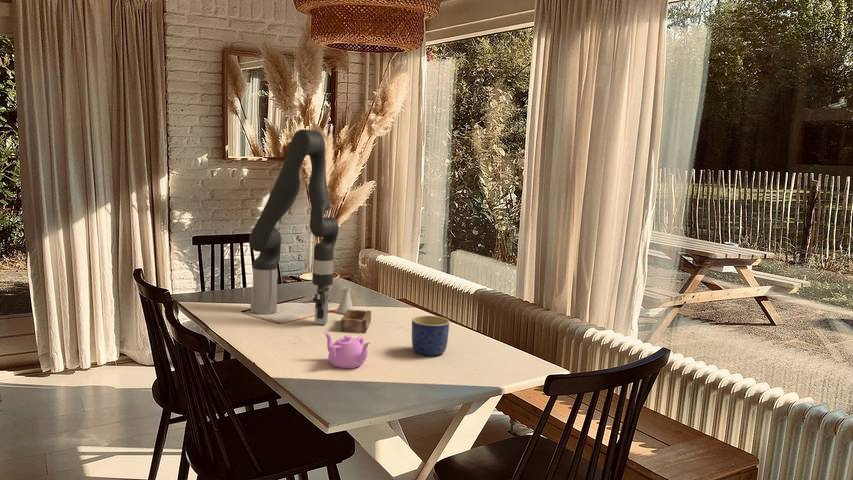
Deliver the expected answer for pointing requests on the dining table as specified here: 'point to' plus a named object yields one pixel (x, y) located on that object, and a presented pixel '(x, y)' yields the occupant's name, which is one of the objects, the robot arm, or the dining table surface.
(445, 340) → the planter
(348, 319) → the rectangular wooden frame
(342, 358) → the teapot
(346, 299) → the flask
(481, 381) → the dining table surface
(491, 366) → the dining table surface
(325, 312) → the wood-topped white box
